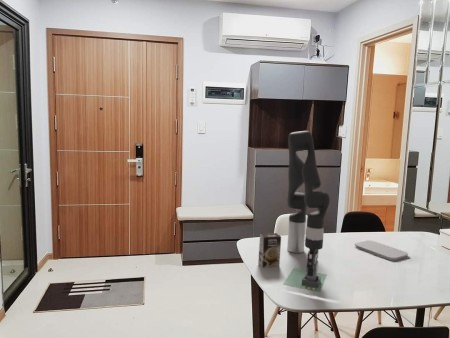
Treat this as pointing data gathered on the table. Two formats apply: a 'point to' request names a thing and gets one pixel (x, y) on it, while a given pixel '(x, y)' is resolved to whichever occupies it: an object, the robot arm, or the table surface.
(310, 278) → the plug
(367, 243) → the tablet
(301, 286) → the board
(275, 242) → the coffee box
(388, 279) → the table surface
